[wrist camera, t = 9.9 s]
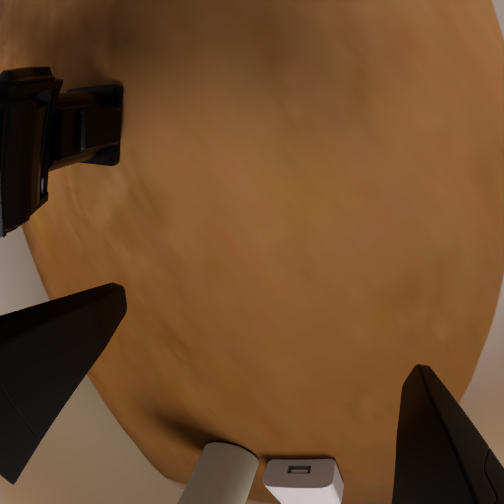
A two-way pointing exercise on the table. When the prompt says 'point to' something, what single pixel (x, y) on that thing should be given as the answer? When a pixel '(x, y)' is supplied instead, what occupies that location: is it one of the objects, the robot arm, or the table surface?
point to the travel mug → (221, 476)
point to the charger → (304, 481)
